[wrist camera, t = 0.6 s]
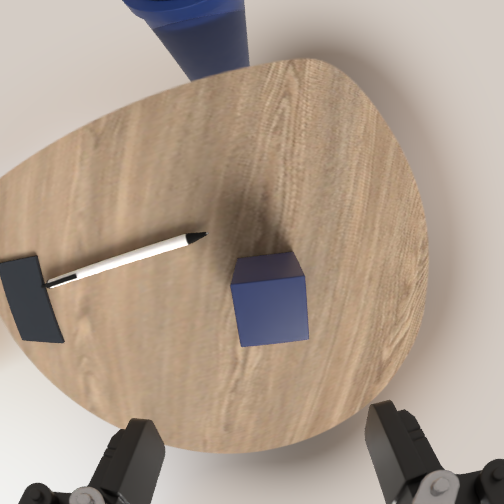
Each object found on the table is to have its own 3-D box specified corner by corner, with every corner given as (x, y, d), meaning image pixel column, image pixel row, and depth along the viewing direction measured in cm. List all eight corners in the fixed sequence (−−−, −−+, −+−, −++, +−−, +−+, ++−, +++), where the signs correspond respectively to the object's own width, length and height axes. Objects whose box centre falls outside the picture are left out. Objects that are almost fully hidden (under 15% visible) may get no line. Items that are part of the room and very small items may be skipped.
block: (237, 258, 23) (230, 284, 17) (293, 251, 23) (305, 275, 17) (244, 309, 24) (241, 347, 18) (298, 303, 24) (309, 339, 18)
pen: (43, 281, 24) (36, 284, 23) (207, 226, 22) (205, 228, 21) (46, 289, 24) (40, 293, 23) (211, 237, 23) (208, 240, 22)
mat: (-1, 263, 24) (-3, 263, 24) (37, 255, 24) (34, 256, 23) (24, 338, 26) (22, 340, 26) (64, 341, 26) (63, 343, 26)
